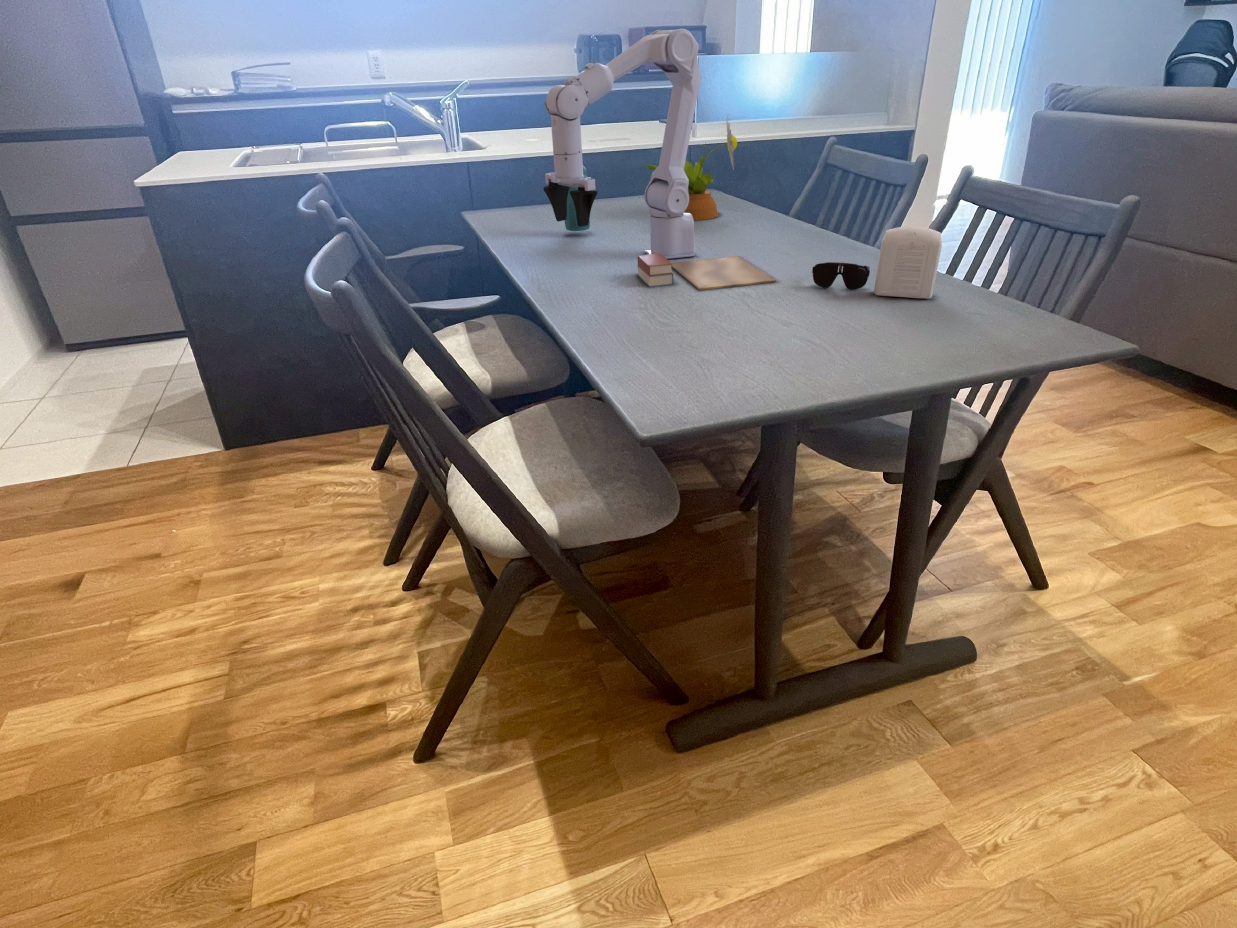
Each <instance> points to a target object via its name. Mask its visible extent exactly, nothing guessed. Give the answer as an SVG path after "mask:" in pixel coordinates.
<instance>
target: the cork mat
mask: <svg viewBox="0 0 1237 928" xmlns="http://www.w3.org/2000/svg"><path fill="white" fill-rule="evenodd" d="M671 263H672V264H671V269H673V270H674V271H675V272H677V273H678V274H679V275H680V276H682V277H683V278H684V279H685V280H687V281H688V282H689V283H690V284H691V285H692V286H693V287H695V288H696V289H697V290H698V291H706V290H713V289H714V290H715V289H724V288H733V287H734V288H735V287H742V286H751V285H760V284H762V285H763V284H770V283H776V282H777V280H776V279H775V278H773V277H771V276H770V275H769V274H767V273H766V272H764V271H762V270H760V269H759V268H757V267H756V266H754V265H753V264H751V263H749V262H748V261H747V260H745V259H743V258H742V257H740V256H738V255H734V256H723V257H715V258H714V257H713V258H704V259H696V260H695V259H694V260H693V259H692V260H685V261H684V260H683V261H674V262H671Z"/></svg>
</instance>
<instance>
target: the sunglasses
mask: <svg viewBox="0 0 1237 928" xmlns="http://www.w3.org/2000/svg"><path fill="white" fill-rule="evenodd" d="M811 274H812V279H813V283H814V284H815V285H816V286H818V287H820V288H823V289H828V288H831V286H832V285H833V284H834V282H835V280H836V279H837V278H838V276H839V275H840V276H841V278H842V280H843V281H842V282H843V284H844V286H845V288H846V289H848V290H849V291H854V290H859V289H862V288H863V287H865V286H866V284H867V282H868V279H869V277H870V274H871V270H870V266H868V265H860V264H857V263H849V262H835V261H833V262H832V261H831V262H828V261H827V262H826V261H825V262H820V263H816V264H815V265H814V266H812V272H811Z"/></svg>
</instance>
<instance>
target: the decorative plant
mask: <svg viewBox="0 0 1237 928" xmlns="http://www.w3.org/2000/svg"><path fill="white" fill-rule="evenodd" d="M726 115H727V116H726V118H725V121H726V122H725V123H726V143H723V144H721V145H719V146H717V147H714V148H713V149H712V150H711V151H709V153H708V154H707V155H706V149H707V148H706V147H707V142H705V144H704V153H703V156H700V157H699V160H698V161H696V162H695V164H694V166H693V164H692V163H691V162H690V161H688V160H685V166H684V172H685V174H686V176H687V178H688V180H689V184H688V193H689V204H688V207H687V208H686V210H685V211H684V213H690V214H691V215H692V217H693V220H694V221H702V220H710V219H714V218H716V217H718V216H719V212H718V207H717V203H716V201H715V200H714V198H713V197H712V194H711V191H710V190H707V186H709V185H711V183H713V182H715V179H713V178H712V175H711V173H706V174H703V170H704V167H703V165H704V162H705V160H706V159H707V158H708V157H709V156H710V155H711V154H712V153H713V152H714V151H715V150H716V149H717V148H720V147H723V146H726V145H727V151H728V154H729V159H730V164H731V166H732V170H733V171H735V159H734V156H735V155H734V151H735V150H736V148H737V146H738V140H737V138H736V136H735V135H734V134H732V129H731V124H730V123H729V114H726ZM645 167H646V168H647V169H648V171H651V170H653V171H654V170H655V169H656V168H657V167H658V166H657V165H653V164H646V165H645Z"/></svg>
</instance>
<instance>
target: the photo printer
mask: <svg viewBox="0 0 1237 928" xmlns="http://www.w3.org/2000/svg"><path fill="white" fill-rule="evenodd" d="M942 245H943V240H942V233H941V232H940V231H938V230H936V229H932V228H929V227H924V226H914V225H911V226H908V225H907V226H898V227H894V228H890V229H886V230H885V234H884V235H883V236H882V239H881V243H880V248H879V255H878V262H877V268H876V274H875V281H874V287H873V294H874V295H875V296H879V297H897V298H911V299H923V300H930V299H932V297H933V294H934V288H935V283H936V278H937V273H938V268H939V263H940V257H941V253H942V247H943V246H942Z"/></svg>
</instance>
